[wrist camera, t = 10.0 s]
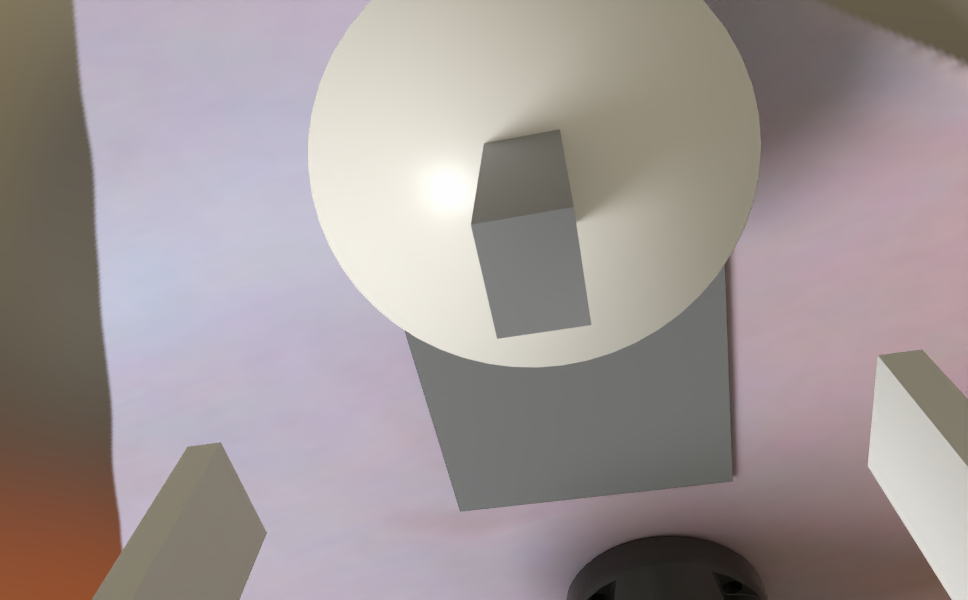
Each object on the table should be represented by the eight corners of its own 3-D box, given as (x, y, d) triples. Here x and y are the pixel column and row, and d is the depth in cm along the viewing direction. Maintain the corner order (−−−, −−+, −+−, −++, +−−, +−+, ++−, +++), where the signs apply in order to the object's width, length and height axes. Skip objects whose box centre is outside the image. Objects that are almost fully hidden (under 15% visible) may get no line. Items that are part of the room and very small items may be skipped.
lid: (746, 309, 33) (833, 463, 24) (386, 361, 35) (339, 518, 26) (738, -123, 24) (870, -145, 15) (263, -14, 27) (128, 25, 17)
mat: (731, 477, 47) (732, 481, 46) (460, 507, 49) (460, 511, 49) (721, 224, 37) (723, 227, 37) (390, 278, 40) (389, 281, 40)
